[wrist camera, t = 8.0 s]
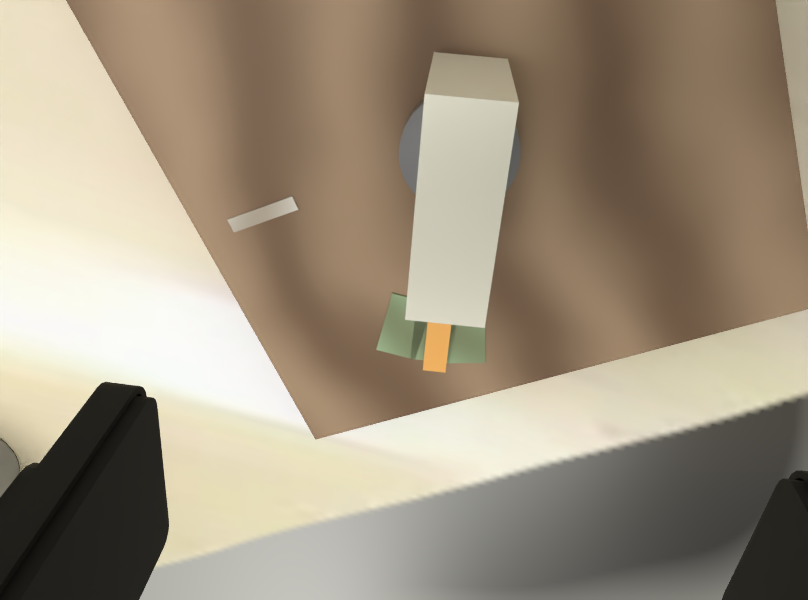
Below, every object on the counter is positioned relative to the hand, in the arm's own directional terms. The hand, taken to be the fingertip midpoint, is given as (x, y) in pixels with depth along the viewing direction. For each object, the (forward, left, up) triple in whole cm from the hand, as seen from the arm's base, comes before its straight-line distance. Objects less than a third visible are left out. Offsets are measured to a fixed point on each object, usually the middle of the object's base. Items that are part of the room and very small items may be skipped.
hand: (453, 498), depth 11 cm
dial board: (0, 0, -20) cm, 20 cm away
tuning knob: (+2, +3, -18) cm, 19 cm away
